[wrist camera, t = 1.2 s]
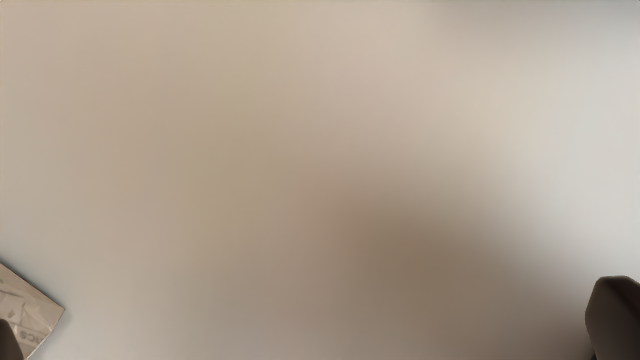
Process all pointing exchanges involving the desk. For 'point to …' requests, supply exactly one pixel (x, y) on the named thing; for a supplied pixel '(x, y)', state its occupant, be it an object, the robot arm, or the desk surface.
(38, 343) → the reddish block on slab
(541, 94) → the desk surface
